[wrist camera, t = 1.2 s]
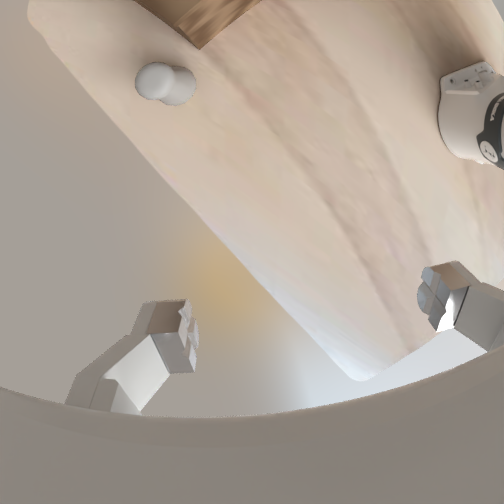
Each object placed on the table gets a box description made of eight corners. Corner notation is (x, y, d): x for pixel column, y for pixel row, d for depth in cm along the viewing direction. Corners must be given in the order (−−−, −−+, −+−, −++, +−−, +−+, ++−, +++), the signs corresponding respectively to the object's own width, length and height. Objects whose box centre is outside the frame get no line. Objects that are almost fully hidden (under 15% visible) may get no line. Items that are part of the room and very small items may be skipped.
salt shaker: (156, 103, 35) (120, 104, 24) (164, 67, 33) (131, 53, 21) (194, 107, 36) (173, 109, 25) (203, 70, 33) (184, 56, 22)
